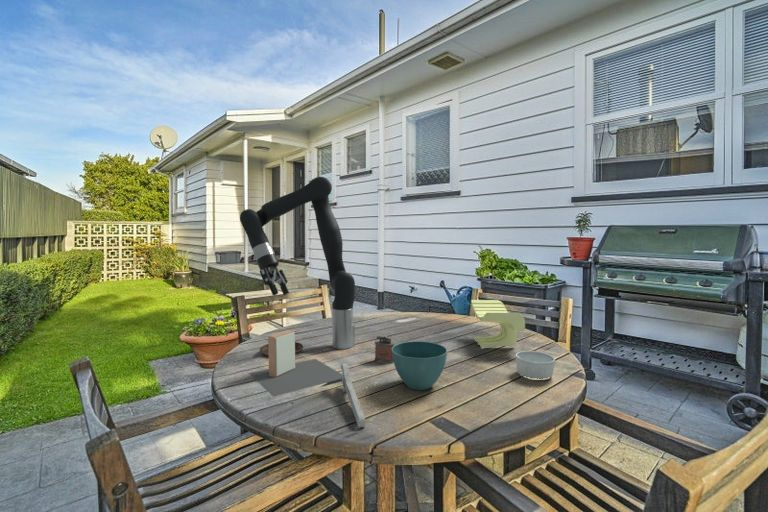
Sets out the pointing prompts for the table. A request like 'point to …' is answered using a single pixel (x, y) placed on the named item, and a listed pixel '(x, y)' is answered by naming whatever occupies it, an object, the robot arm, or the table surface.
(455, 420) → the table surface
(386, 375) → the table surface
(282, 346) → the tan rectangular block
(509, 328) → the slatted curved stool
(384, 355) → the lighter
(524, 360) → the ramekin
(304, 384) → the mat
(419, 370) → the teal bowl
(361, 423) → the wrench
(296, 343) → the plant saucer
